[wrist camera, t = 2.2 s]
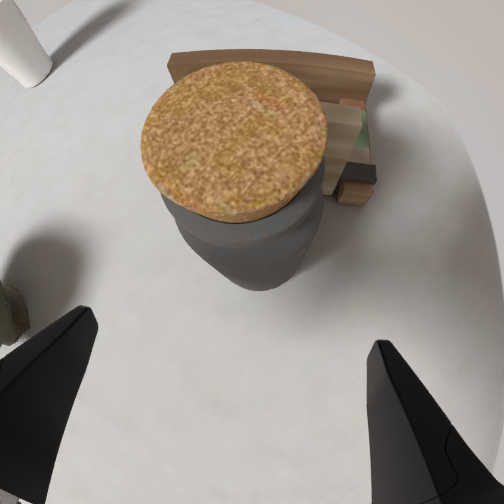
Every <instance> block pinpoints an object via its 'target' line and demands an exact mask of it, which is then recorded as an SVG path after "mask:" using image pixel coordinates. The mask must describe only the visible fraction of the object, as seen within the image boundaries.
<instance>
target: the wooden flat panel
mask: <svg viewBox="0 0 504 504" xmlns="http://www.w3.org/2000/svg"><path fill="white" fill-rule="evenodd" d="M320 103H321V105H322V107H323V110H324V112H325V115H326V119H327V125H328V142H327V146H326V150H325V153H324V158H325V175H324V181H323V185H322V188H323V194H326V195H332V193H333V191H334V189H335V187H336V185H337V182H338V180H339V178H340V181H347V182H355V183H363V184H371V185H374V184H375V183H376V181H377V180H376V165H370V164H363V163H356V162H348V161H347V160H348V158H349V156H350V154H351V151H352V149H353V147H354V145H355V142H356V140H357V138H358V136H359V133H360V131H361V129H362V126H363V125H362V115H361V107H356V106H349V105H342V104H335V103H327V102H320Z"/></svg>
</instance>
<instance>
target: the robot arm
mask: <svg viewBox="0 0 504 504" xmlns="http://www.w3.org/2000/svg"><path fill="white" fill-rule="evenodd" d="M97 332H98V323H97V321H96V318H95V316H94V314H93V311H92V309H91V308H90V307H87V306H82V305H80V306H78V307H76V308H74V309H73V310H71V311H70V312H68V313H67V314H65V315H64V316H62V317H61V318H59V319H58V320H56V321H55V322H53V323H52V324H51V325H49V326H48V327H46V328H45V329H43V330H42V331H40V332H39V333H37V334H36V335H34V336H33V337H32V338H30V339H29V340H27V341H26V342H24V343H23V344H21V345H20V346H19V347H17V348H16V349H14V350H13V351H12V352H10V353H9V354H7V355H6V356H5V357H4V358H2V359H0V504H21V503H20V502H19V498H20V499H23V500H25V501H27V502H30V503H32V504H45V502H46V497H47V493H48V488H49V484H50V480H51V476H52V472H53V469H54V465H55V464H54V463H55V461H56V457H57V454H58V450H59V447H60V443H61V440H62V437H63V434H64V431H65V427H66V424H67V421H68V418H69V415H70V412H71V409H72V407H73V404H74V401H75V398H76V395H77V393H78V390H79V387H80V384H81V382H82V379H83V377H84V374H85V371H86V368H87V365H88V362H89V359H90V355H91V352H92V348H93V345H94V342H95V338H96V335H97ZM367 417H368V429H369V443H370V459H371V485H372V504H504V485H502V484H501V483H499V482H498V481H497V480H496V479H495V478H494V477H493V475H492V474H491V473H490V472H489V471H488V469H487V468H486V467H485V466H484V465H483V463H482V462H481V461H480V460H479V459H478V458H477V456H476V455H475V454H474V453H473V451H472V450H471V449H470V448H469V447H468V445H467V444H466V443H465V441H464V440H463V439H462V437H461V436H460V434H459V433H458V432H457V430H456V429H455V427H454V426H453V425H452V424H451V422H450V420H449V419H448V418H447V416H446V415H445V413H444V412H443V411H442V409H441V408H440V406H439V405H438V404H437V402H436V401H435V400H434V398H433V397H432V395H431V394H430V393H429V391H428V390H427V389H426V387H425V386H424V385H423V383H422V382H421V381H420V379H419V378H418V377H417V375H416V374H415V373H414V371H413V370H412V369H411V367H410V366H409V365H408V364H407V362H406V361H405V360H404V358H403V357H402V356H401V354H400V353H399V352H398V351H397V349H396V348H395V347H394V345H393V344H392V343H391V342H390V341H389V340H376V341H375V343H374V345H373V347H372V349H371V351H370V353H369V355H368V358H367Z"/></svg>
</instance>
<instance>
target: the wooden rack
mask: <svg viewBox="0 0 504 504" xmlns="http://www.w3.org/2000/svg"><path fill="white" fill-rule="evenodd" d="M241 61H246V62H256V63H263V64H267V65H271V66H274V67H277V68H280V69H282V70H284V71H286V72H288V73H290V74H292V75H294V76H295V77H297V78H298V79H299V80H301V81H302V82H303V83H305V84H306V85H307V86H308V87H309V88H310V89H311V90H312V91H313V93H314V94H315V95H316V97H317V98H318V100H319V101H320V102H327V103H335V104H342V105H349V106H356V107H361V115H362V125H363V126H362V129H361V131H360V133H359V136H358V138H357V140H356V142H355V145H354V147H353V149H352V151H351V154H350V156H349V158H348V160H347V161H348V162H356V163H363V164H370V165H371V158H370V146H369V135H368V126H367V117H366V109H365V101H366V99H367V96H368V94H369V91H370V88H371V86H372V83H373V80H374V78H375V75H376V74H375V70H374V65H373V61H367V60H362V59H356V58H350V57H344V56H337V55H329V54H321V53H312V52H301V51H287V50H265V49H226V50H204V51H191V52H180V53H172V54H171V57H170V59H169V62H168V64H167V67H168V70H169V72H170V74H171V77H172V79H173V81H174V84H175V83H176V82H178V81H179V80H181V79H182V78H184V77H186V76H187V75H189V74H191V73H193V72H195V71H198V70H200V69H203V68H205V67H209V66H212V65H216V64H221V63H226V62H241ZM372 194H373V193H372V185H371V184H363V183H355V182H347V181H340V178H339V180H338V182H337V204H347V205H356V206H363V205H364V204H365V203H366V202H367V200H368V199H369V198H370V197H371V195H372Z"/></svg>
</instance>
